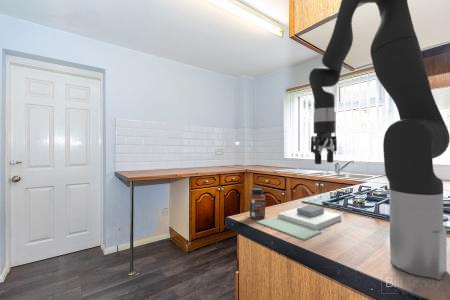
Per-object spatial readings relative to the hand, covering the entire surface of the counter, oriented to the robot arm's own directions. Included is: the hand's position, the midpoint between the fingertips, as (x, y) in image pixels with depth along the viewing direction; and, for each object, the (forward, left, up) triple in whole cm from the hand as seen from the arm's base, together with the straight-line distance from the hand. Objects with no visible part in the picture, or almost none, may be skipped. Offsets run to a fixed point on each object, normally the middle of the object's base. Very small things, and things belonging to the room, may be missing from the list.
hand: (324, 163), depth 87 cm
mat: (+2, +20, -21) cm, 29 cm away
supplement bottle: (+16, +20, -21) cm, 33 cm away
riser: (+2, +7, -21) cm, 22 cm away
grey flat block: (+2, +6, -19) cm, 20 cm away
